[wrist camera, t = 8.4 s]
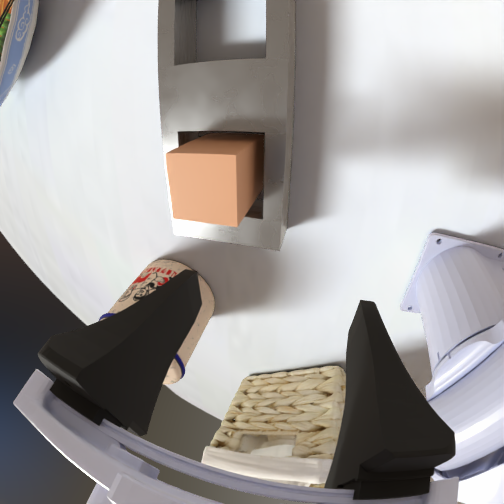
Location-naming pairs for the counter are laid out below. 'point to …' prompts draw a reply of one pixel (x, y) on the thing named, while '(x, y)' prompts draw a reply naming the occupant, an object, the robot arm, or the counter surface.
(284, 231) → the grey slotted board
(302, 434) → the storage basket
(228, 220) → the orange brown block
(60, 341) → the robot arm
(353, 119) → the counter surface
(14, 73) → the ramen bowl
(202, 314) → the teacup with lid
